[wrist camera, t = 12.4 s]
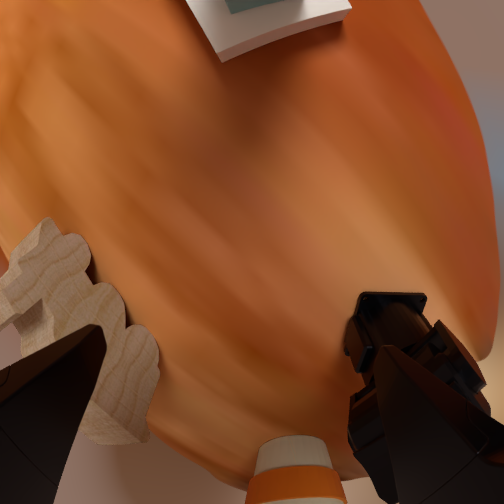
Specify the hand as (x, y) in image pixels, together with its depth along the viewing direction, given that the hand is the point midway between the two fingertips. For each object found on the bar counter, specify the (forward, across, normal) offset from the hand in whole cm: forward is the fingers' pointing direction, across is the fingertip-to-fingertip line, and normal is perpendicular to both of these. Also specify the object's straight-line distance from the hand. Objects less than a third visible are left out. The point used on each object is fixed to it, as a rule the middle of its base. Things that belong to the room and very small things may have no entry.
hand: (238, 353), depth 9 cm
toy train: (+13, +13, +8) cm, 20 cm away
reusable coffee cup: (+13, -7, +30) cm, 34 cm away
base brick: (+14, +1, -17) cm, 22 cm away
